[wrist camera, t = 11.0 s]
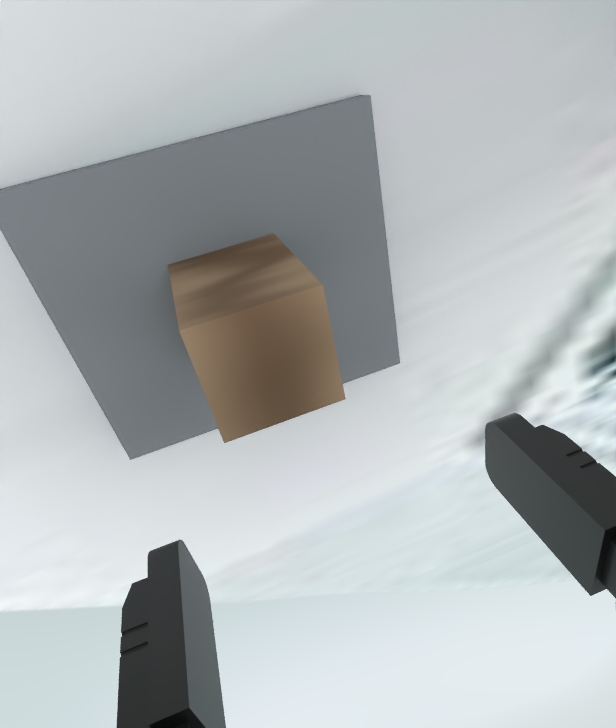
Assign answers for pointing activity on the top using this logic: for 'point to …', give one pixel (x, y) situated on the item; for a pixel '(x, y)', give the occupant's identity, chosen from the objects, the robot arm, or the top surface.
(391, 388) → the top surface
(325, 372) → the walnut block
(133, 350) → the charcoal mat
